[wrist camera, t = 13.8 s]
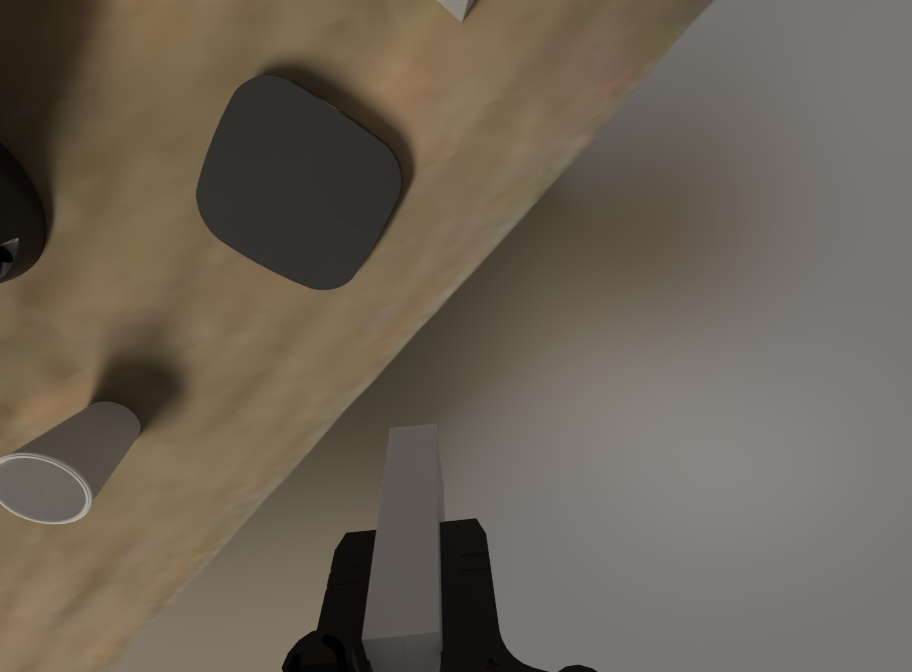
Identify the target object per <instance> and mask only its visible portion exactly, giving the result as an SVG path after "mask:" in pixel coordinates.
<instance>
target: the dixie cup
mask: <svg viewBox="0 0 912 672" xmlns="http://www.w3.org/2000/svg"><path fill="white" fill-rule="evenodd" d="M140 431H141V426H140V422H139V420H138V418H137V417H136V415H135V414H134V413H133V412H132V411H131V410H129V409H128V408H126V407H125V406H123V405H121V404H118V403H114V402H109V401H101V402H97V403H94V404H92V405H90V406H89V407H87V408H85V409H84V410H82V411H80V412H79V413H77V414H75V415H74V416H72V417H70V418H69V419H67V420H65V421H64V422H62V423H61V424H59V425H57V426H56V427H54V428H52V429H51V430H49V431H47V432H46V433H44V434H42V435H41V436H39V437H37V438H36V439H34V440H32V441H31V442H29V443H28V444H26V445H24V446H23V447H21V448H19V449H18V450H16V451H14V452H13V453H9V454H6V455H3V456H1V457H0V504H1V505H2V506H4V507H5V508H6V509H8V510H9V511H11V512H12V513H14V514H16V515H18V516H20V517H22V518H25V519H28V520H31V521H34V522H39V523H45V524H63V523H69V522H73V521H75V520H78V519H80V518H81V517H83V516H84V515H86V514H87V513H88V511H89V510H90V508H91V507H92V504H93V500H94V499H95V497H96V496H97V494H98V493H99V491H100V490H101V489H102V487H103V486H104V484H105V483H106V481H107V480H108V479H109V477H110V476H111V474H112V473H113V471H114V470H115V469H116V467H117V466H118V464H119V463H120V461H121V460H122V459H123V457H124V456H125V454H126V453H127V451H128V450H129V449H130V447H131V446H132V444H133V443H134V441H135V440H136V439H137V437H138V436H139V434H140Z"/></svg>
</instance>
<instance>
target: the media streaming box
mask: <svg viewBox="0 0 912 672" xmlns="http://www.w3.org/2000/svg"><path fill="white" fill-rule="evenodd" d="M401 189H402V171H401V167H400V163H399V161H398V159H397V157H396V155H395V153H394V152H393V150H392V149H391V148H390V147H389V146H388V144H386V143H385V142H384V141H382V140H381V139H380V138H378V137H377V136H376V135H374V134H373V133H372V132H370V131H369V130H368V129H366V128H365V127H363V126H362V125H361V124H359V123H358V122H356V121H355V120H353V119H352V118H350V117H349V116H348V115H346V114H345V113H343V112H342V111H340V110H339V109H337V108H336V107H334V106H332V105H331V104H329V103H328V102H326V101H325V100H323V99H321V98H320V97H318V96H317V95H315V94H313V93H312V92H310V91H308V90H307V89H305V88H303V87H302V86H300V85H298V84H297V83H295V82H293V81H290V80H287V79H285V78H282V77H278V76H269V75H266V76H259V77H255V78H252V79H250V80H248V81H246V82H245V83H243V84H242V85H241V86H240V87H239V88H238V89H237V90H236V91H235V92H234V94H233V96H232V98H231V100H230V102H229V104H228V106H227V108H226V110H225V112H224V114H223V116H222V118H221V120H220V122H219V125H218V127H217V129H216V131H215V134H214V136H213V139H212V141H211V144H210V147H209V149H208V152H207V155H206V158H205V161H204V164H203V167H202V171H201V174H200V178H199V182H198V186H197V190H196V198H197V205H198V208H199V211H200V214H201V216H202V218H203V220H204V222H205V224H206V225H207V227H208V228H209V230H210V231H211V232H212V233H213V234H214V235H215V236H216V237H217V238H218V239H219V240H221V241H222V242H224V243H225V244H227V245H228V246H230V247H231V248H233V249H234V250H236V251H238V252H239V253H241V254H242V255H244V256H246V257H247V258H249V259H251V260H253V261H254V262H256V263H258V264H260V265H262V266H263V267H265V268H267V269H269V270H271V271H273V272H275V273H277V274H279V275H281V276H283V277H285V278H288V279H290V280H292V281H294V282H296V283H299V284H301V285H303V286H306V287H308V288H312V289H317V290H329V289H335V288H338V287H341V286H343V285H345V284H346V283H348V282H349V281H350V280H351V279H352V278H353V277H354V275H355V274H356V272H357V271H358V269H359V268H360V266H361V265H362V263H363V262H364V260H365V258H366V257H367V255H368V253H369V252H370V250H371V248H372V247H373V245H374V243H375V241H376V240H377V238H378V236H379V234H380V233H381V231H382V229H383V227H384V225H385V223H386V221H387V219H388V217H389V216H390V214H391V212H392V210H393V208H394V206H395V204H396V201H397V199H398V197H399V195H400V193H401Z"/></svg>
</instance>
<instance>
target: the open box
mask: <svg viewBox="0 0 912 672" xmlns="http://www.w3.org/2000/svg"><path fill="white" fill-rule="evenodd" d="M437 1H438V2H439V3H440V4H441V5H442V6H443V7H445V8H446V9H447V10H448V11H449V12H450V13H451V14H453V15H454V16H455V17H456V18H457V19H458V20H459V21H461V22H462V21H463V20H464V18H465V16H466V15H467V13H468V11H469V9H470V8H471V6H472V4H473V3H474V1H475V0H437Z"/></svg>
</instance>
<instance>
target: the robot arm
mask: <svg viewBox="0 0 912 672" xmlns="http://www.w3.org/2000/svg"><path fill="white" fill-rule="evenodd" d="M44 239H45V221H44V215H43V210H42V207H41V203H40V201H39V198H38V195H37V193H36V191H35V189H34V187H33V185H32V183H31V181H30V180H29V178H28V176H27V175H26V173H25V172H24V170H23V169H22V168H21V166H20V165H19V164H18V162H17V161H16V160H15V159H14V157H13V156H12V155H11V154H10V153H9V152H8V151H7V150H6V149H5V148H4V147H3V146H2V145H1V144H0V283H3V282H6V281H9V280H11V279H14V278H16V277H18V276H20V275H22V274H23V273H25V272H26V271H27V270H28V269H30V268H31V267H32V266H33V264H34V263H35V262H36V260H37V259H38V257H39V255H40V253H41V251H42V248H43V244H44ZM444 512H445V511H444V486H443V478H442V470H441V462H440V454H439V446H438V438H437V430H436V424H429V425H419V426H410V427H399V428H390V433H389V440H388V448H387V455H386V462H385V470H384V478H383V485H382V492H381V499H380V507H379V515H378V523H377V529H376V530H370V531H359V532H350V533H346V534H345V536H344V537H343V539H342V540H341V542H340V544H339V545H338V547H337V548H336V549H335V552H334V557H333V561H332V566H331V573H330V574H329V579H328V583H327V590H326V592H325V596H324V601H323V605H322V609H321V614H320V618H319V623H318V628H317V630H316V631H312V632H310V633H309V634H307V635H306V636H304V637H303V638H302V639H300V640H299V641H298V642H297V643H296V644H295V646H294V647H293V648H292V649H291V650H290V652H289V653H288V655H287V657H286V659H285V661H284V664H283V666H282V670H283V672H547V671H543V670H540V669H537V668H533V667H530V666H528V665H526V664H523V663H522V662H520V661H519V660H517V659H516V658H515V657H514V656H513V655H512V654H511V653H510V652H509V651H508V649H507V648H506V646H505V644H504V642H503V640H502V638H501V634H500V631H499V625H498V617H497V610H496V603H495V595H494V588H493V581H492V573H491V566H490V559H489V552H488V544H487V537H486V533H485V531H484V530H483V528H482V527H481V525H480V524H479V522H478V520H477V519H466V520H457V521H446V522H445V513H444ZM559 672H597V671H595V670H594V669H592V668H589V667H585V666H582V665H573V666H567V667H564V668H563V669H562V670H560V671H559Z"/></svg>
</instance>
